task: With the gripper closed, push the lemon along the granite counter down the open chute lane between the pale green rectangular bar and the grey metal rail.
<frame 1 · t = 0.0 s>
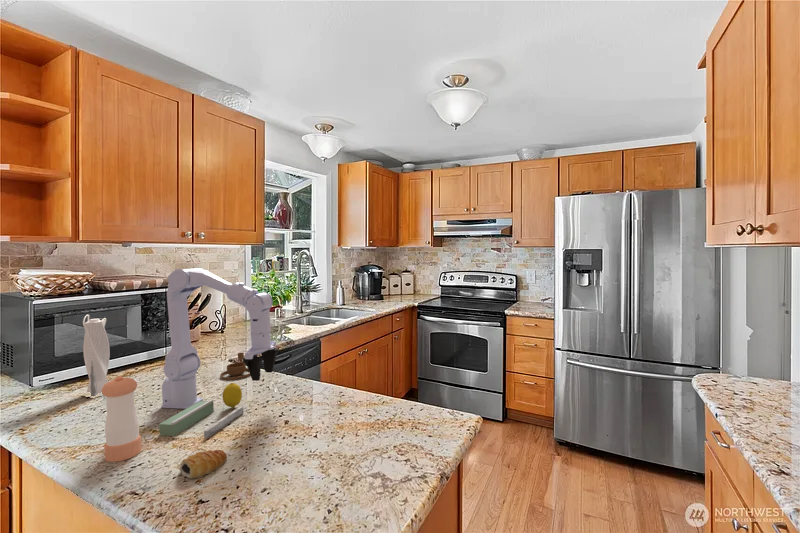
hand: (262, 376, 120), 10 cm above the counter, tool pointing down, fingers open, 7 cm apart
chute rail: (225, 424, 110), on the counter
beige tall twisted piece: (98, 393, 138), on the counter
pastry: (202, 470, 88), on the counter
salt shaker: (123, 454, 95), on the counter
lemon: (233, 408, 122), on the counter
pale green rectangular bar: (188, 422, 112), on the counter
place setting: (242, 374, 159), on the counter
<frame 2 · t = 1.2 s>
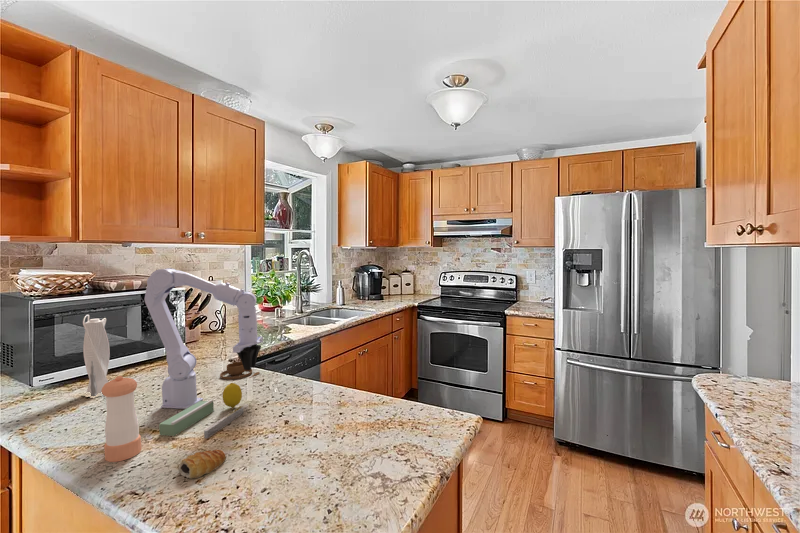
hand: (249, 368, 131), 9 cm above the counter, tool pointing down, fingers closed
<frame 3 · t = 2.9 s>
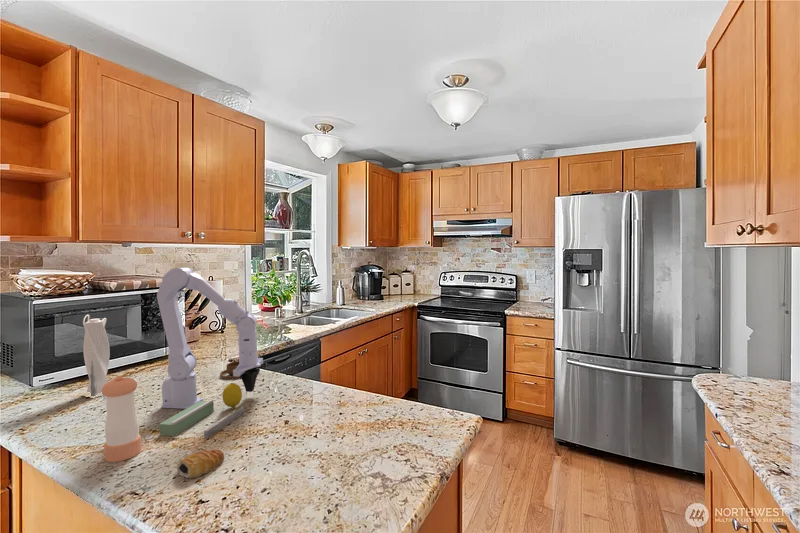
hand: (249, 391, 131), 2 cm above the counter, tool pointing down, fingers closed
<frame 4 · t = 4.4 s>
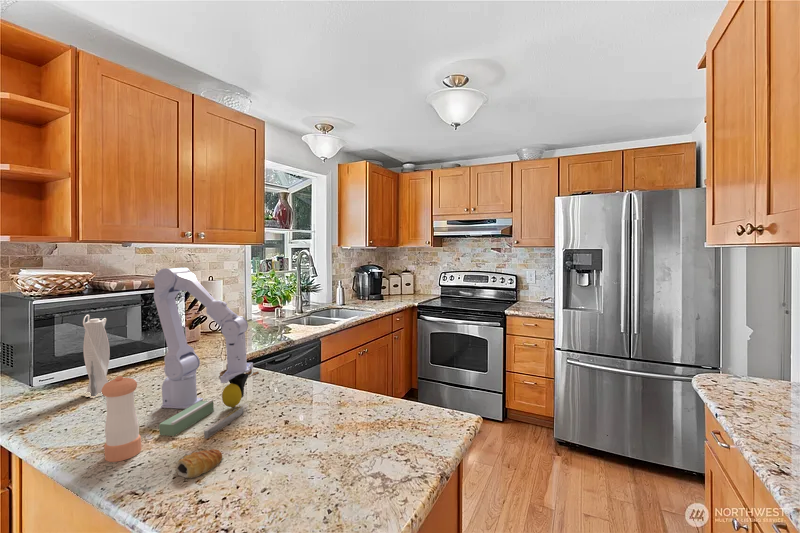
hand: (239, 397, 125), 2 cm above the counter, tool pointing down, fingers closed, pressing on lemon
lemon: (233, 408, 122), on the counter, touching gripper
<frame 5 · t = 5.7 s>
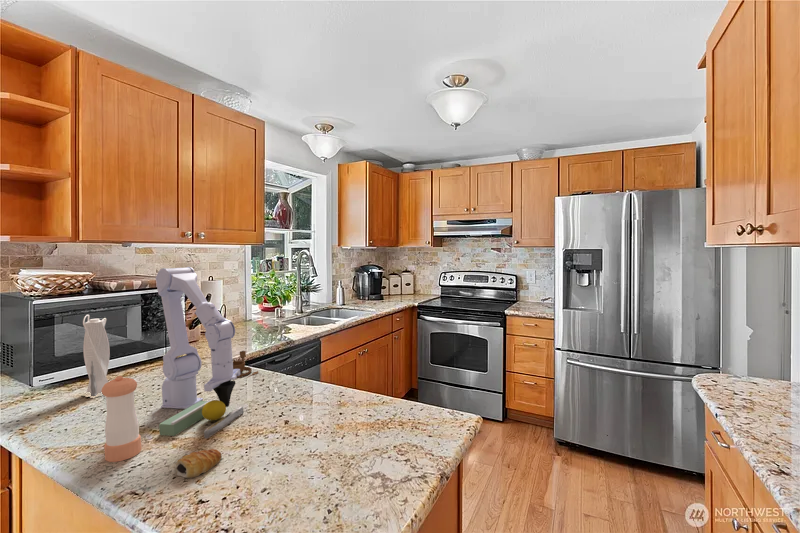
hand: (225, 406, 117), 2 cm above the counter, tool pointing down, fingers closed, pressing on lemon
lemon: (223, 409, 117), point 2 cm above the counter, touching gripper
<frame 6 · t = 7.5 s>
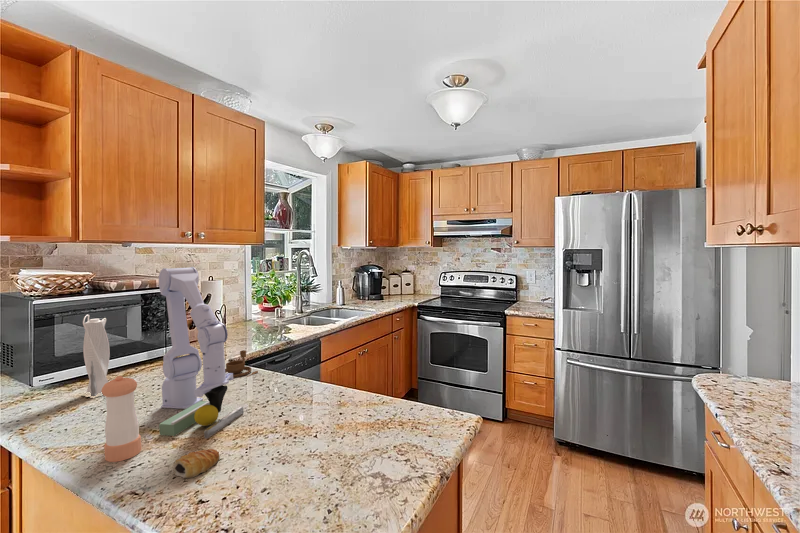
hand: (216, 412, 114), 2 cm above the counter, tool pointing down, fingers closed, pressing on lemon
lemon: (214, 415, 113), point 1 cm above the counter, touching gripper
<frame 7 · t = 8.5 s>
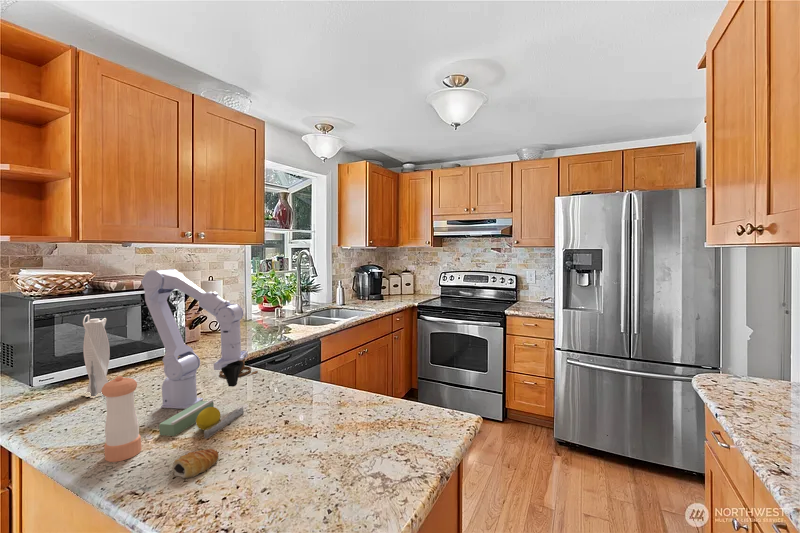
hand: (232, 385, 124), 6 cm above the counter, tool pointing down, fingers closed
lemon: (216, 411, 112), point 3 cm above the counter
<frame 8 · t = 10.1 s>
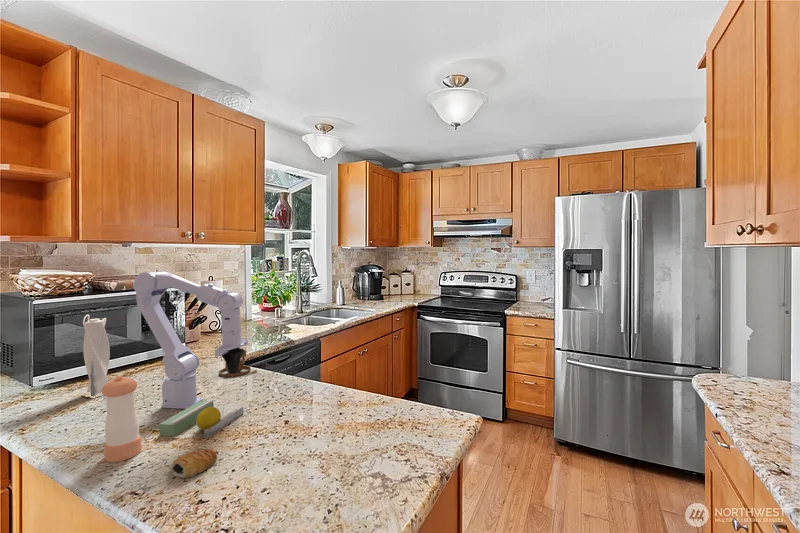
hand: (233, 372, 126), 10 cm above the counter, tool pointing down, fingers closed
lemon: (216, 411, 112), point 3 cm above the counter, touching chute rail
at the end: lemon inside the target area (3.2 cm from its centre), point 2.8 cm above the counter; lemon moved 9.8 cm from its start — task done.
